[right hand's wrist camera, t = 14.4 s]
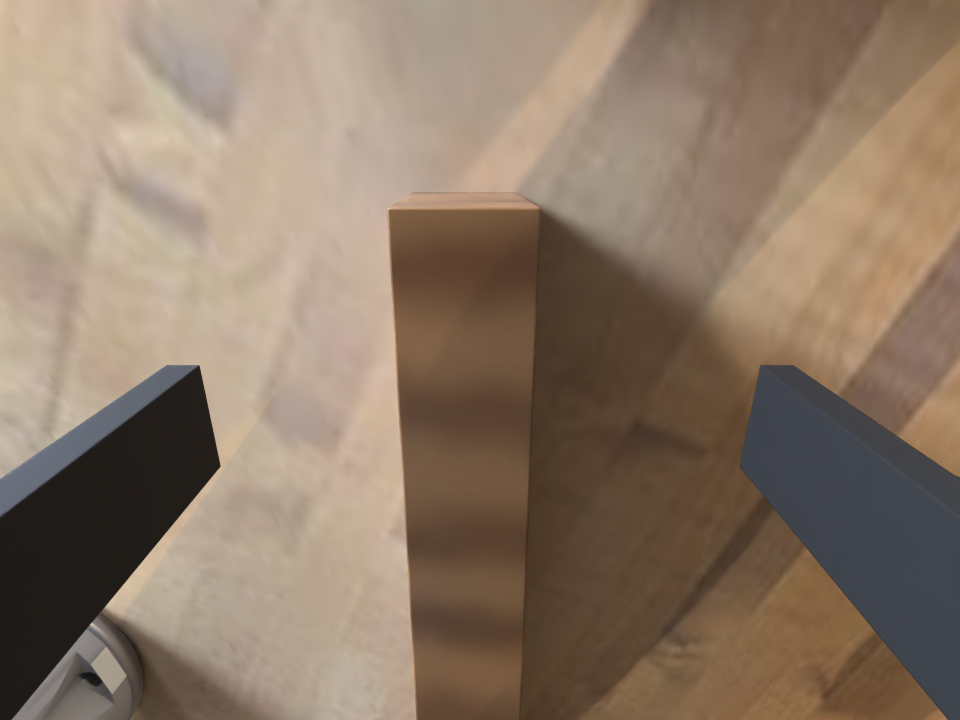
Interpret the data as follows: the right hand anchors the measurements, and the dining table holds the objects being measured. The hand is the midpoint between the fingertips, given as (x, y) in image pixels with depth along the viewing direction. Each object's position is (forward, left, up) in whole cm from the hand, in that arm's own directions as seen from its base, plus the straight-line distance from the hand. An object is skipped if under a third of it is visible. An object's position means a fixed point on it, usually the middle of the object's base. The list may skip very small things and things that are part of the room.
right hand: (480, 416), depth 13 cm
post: (+21, -24, -15) cm, 36 cm away
